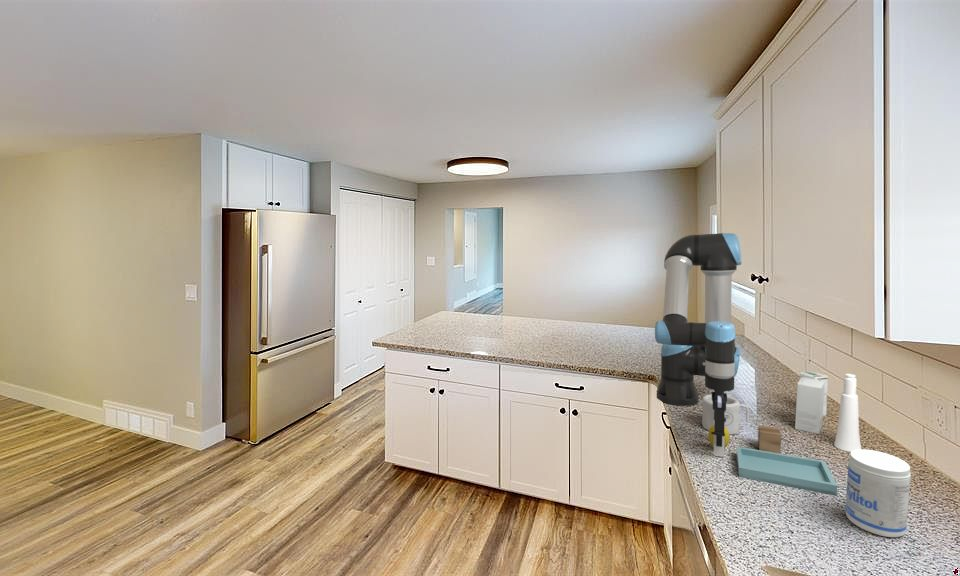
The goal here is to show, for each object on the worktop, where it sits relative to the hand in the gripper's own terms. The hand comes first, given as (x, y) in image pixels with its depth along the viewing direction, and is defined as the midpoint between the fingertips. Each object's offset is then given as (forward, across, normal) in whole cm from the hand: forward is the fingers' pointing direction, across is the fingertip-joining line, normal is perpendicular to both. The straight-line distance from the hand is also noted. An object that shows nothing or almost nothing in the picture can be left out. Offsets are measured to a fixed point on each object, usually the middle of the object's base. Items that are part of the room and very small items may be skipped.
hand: (718, 448), depth 125 cm
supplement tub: (0, +24, +29) cm, 38 cm away
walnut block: (0, -6, +13) cm, 14 cm away
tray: (0, +8, +14) cm, 17 cm away
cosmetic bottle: (0, -16, +33) cm, 37 cm away
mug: (+1, -17, +2) cm, 17 cm away
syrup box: (+1, -42, +29) cm, 51 cm away
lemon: (0, 0, 0) cm, 0 cm away
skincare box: (+1, -28, +26) cm, 38 cm away
